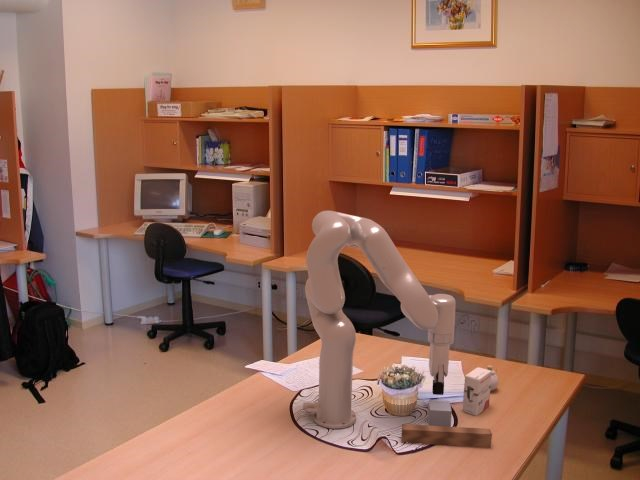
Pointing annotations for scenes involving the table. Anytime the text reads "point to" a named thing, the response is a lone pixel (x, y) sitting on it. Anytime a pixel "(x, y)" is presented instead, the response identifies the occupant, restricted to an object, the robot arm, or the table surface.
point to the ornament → (493, 378)
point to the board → (446, 435)
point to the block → (439, 413)
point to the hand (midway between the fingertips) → (437, 393)
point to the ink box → (477, 391)
